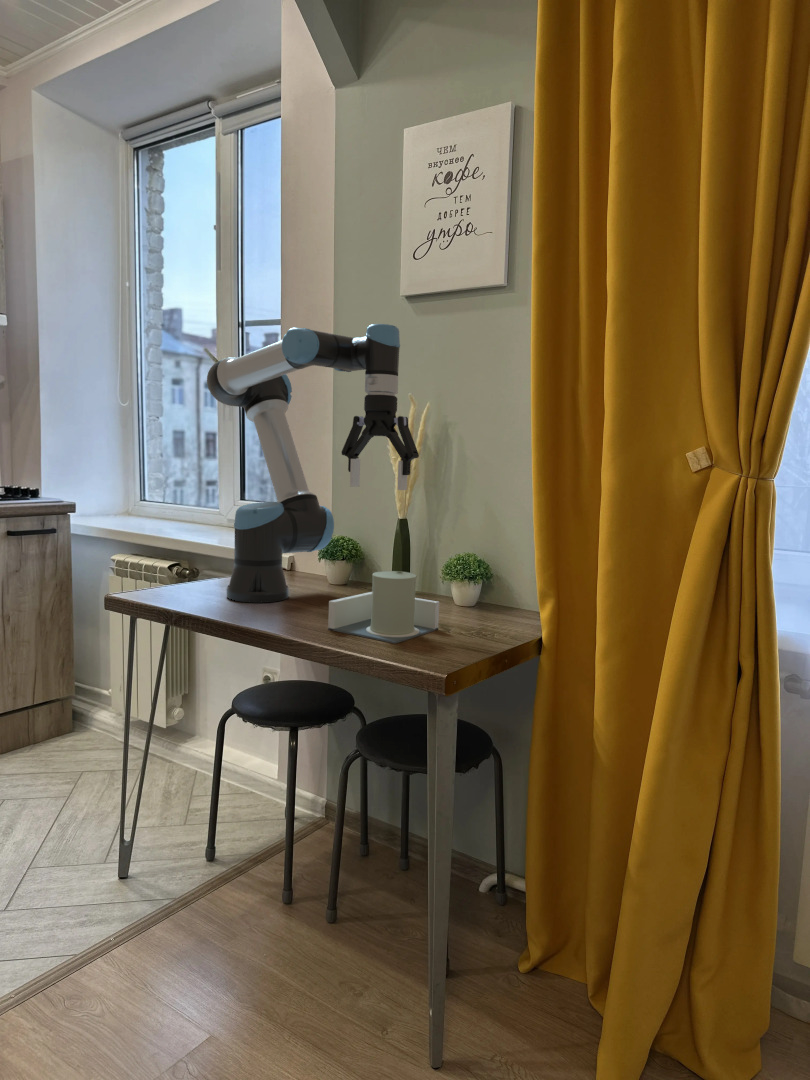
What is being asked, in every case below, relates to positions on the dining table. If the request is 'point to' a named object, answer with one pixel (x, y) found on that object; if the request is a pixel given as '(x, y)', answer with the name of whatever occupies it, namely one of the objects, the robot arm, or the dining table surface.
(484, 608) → the dining table surface
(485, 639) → the dining table surface
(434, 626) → the walls
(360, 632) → the mat
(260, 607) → the dining table surface
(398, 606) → the can
